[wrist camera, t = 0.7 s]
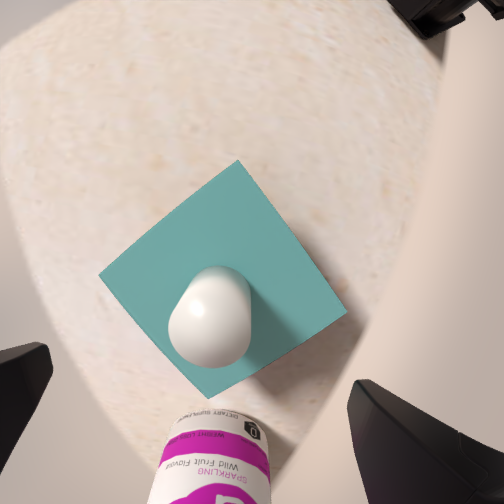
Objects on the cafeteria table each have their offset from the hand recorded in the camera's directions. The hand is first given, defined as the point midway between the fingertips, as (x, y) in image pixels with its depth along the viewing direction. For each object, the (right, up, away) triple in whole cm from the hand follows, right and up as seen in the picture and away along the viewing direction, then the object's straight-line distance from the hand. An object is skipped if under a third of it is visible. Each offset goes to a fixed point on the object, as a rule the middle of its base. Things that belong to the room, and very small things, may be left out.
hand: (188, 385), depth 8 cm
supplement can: (-1, -12, +15) cm, 20 cm away
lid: (0, +2, +8) cm, 8 cm away
